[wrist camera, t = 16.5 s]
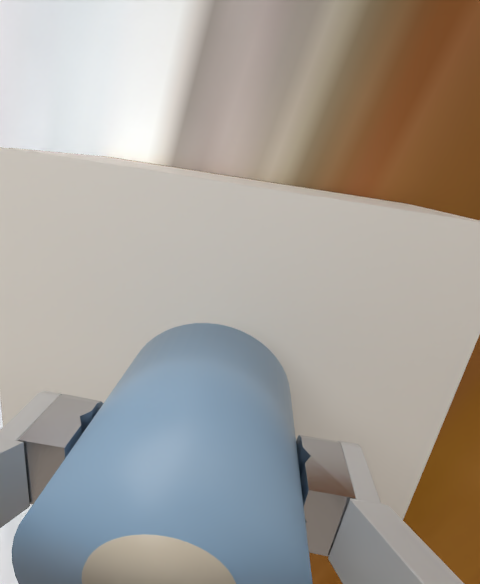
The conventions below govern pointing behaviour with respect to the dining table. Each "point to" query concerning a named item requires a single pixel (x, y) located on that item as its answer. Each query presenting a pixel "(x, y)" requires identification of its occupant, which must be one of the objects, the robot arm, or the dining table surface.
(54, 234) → the lid
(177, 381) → the blue tapered cylinder
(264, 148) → the dining table surface
